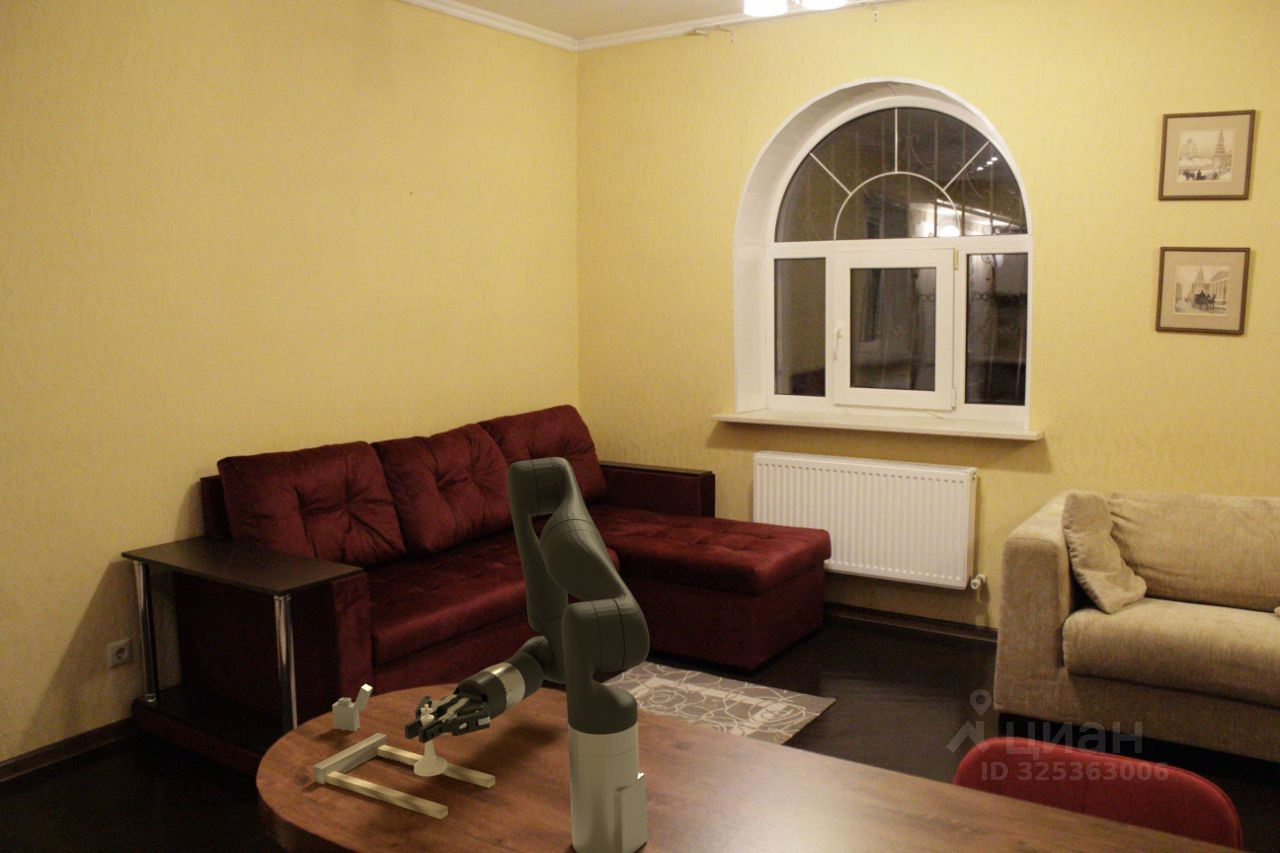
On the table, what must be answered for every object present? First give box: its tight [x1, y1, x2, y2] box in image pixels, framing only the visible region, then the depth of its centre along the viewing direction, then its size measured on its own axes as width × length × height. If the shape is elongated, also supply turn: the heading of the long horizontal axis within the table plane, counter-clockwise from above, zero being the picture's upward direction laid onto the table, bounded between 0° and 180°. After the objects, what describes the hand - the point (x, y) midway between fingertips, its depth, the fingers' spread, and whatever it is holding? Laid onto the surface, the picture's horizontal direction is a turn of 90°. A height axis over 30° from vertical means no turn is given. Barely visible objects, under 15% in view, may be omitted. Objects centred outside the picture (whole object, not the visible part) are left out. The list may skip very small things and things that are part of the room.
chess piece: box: [413, 704, 448, 777], centre depth 156 cm, size 5×5×10 cm
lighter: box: [332, 683, 373, 732], centre depth 178 cm, size 7×2×8 cm, turn 74°
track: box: [312, 732, 496, 820], centre depth 159 cm, size 25×14×2 cm, turn 58°
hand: (414, 734), depth 153 cm, fingers closed on chess piece
